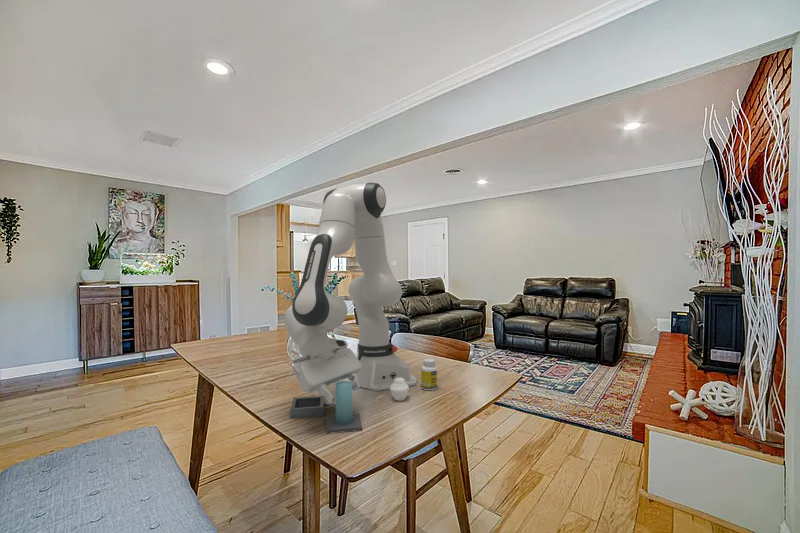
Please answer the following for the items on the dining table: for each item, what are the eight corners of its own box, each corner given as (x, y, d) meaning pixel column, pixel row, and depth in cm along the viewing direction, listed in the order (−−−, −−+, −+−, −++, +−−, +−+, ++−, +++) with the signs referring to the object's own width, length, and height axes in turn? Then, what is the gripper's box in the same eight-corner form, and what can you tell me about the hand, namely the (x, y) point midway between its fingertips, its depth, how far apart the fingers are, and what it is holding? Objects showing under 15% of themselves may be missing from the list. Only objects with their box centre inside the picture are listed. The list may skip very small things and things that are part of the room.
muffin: (410, 402, 110) (410, 379, 110) (391, 403, 109) (391, 380, 109) (407, 395, 116) (406, 373, 116) (388, 396, 115) (388, 374, 115)
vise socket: (345, 402, 110) (345, 394, 110) (346, 414, 101) (346, 405, 101) (293, 406, 107) (293, 397, 107) (290, 418, 98) (290, 409, 98)
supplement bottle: (432, 392, 119) (432, 362, 119) (418, 389, 122) (418, 360, 122) (439, 387, 124) (439, 359, 124) (425, 384, 126) (425, 357, 127)
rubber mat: (359, 416, 100) (359, 413, 100) (362, 430, 91) (362, 427, 91) (326, 418, 98) (326, 415, 98) (326, 433, 89) (326, 430, 89)
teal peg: (351, 417, 97) (351, 380, 97) (352, 424, 93) (352, 385, 93) (335, 418, 96) (335, 381, 96) (335, 425, 92) (335, 386, 92)
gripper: (294, 353, 90) (322, 400, 85) (349, 339, 107) (375, 377, 102) (283, 368, 93) (309, 414, 87) (338, 352, 109) (363, 390, 104)
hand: (345, 394), depth 94 cm, fingers open, 8 cm apart
